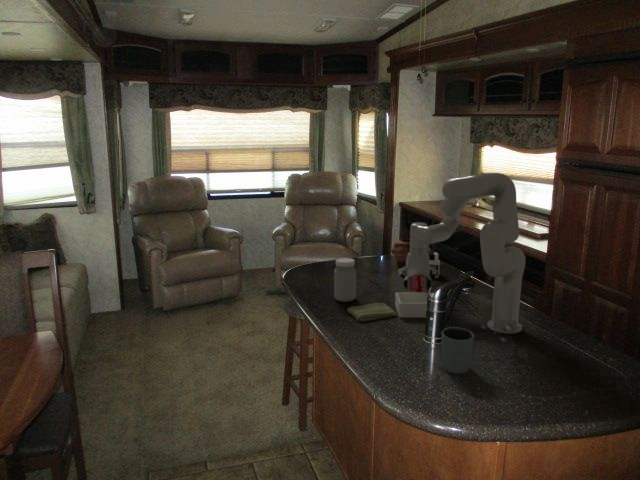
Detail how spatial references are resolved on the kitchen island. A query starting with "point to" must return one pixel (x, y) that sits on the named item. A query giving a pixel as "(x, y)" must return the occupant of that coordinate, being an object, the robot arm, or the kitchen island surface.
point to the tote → (411, 304)
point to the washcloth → (371, 311)
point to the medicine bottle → (434, 262)
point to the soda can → (417, 283)
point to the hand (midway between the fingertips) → (416, 288)
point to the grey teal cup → (456, 349)
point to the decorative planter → (401, 251)
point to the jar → (345, 280)
